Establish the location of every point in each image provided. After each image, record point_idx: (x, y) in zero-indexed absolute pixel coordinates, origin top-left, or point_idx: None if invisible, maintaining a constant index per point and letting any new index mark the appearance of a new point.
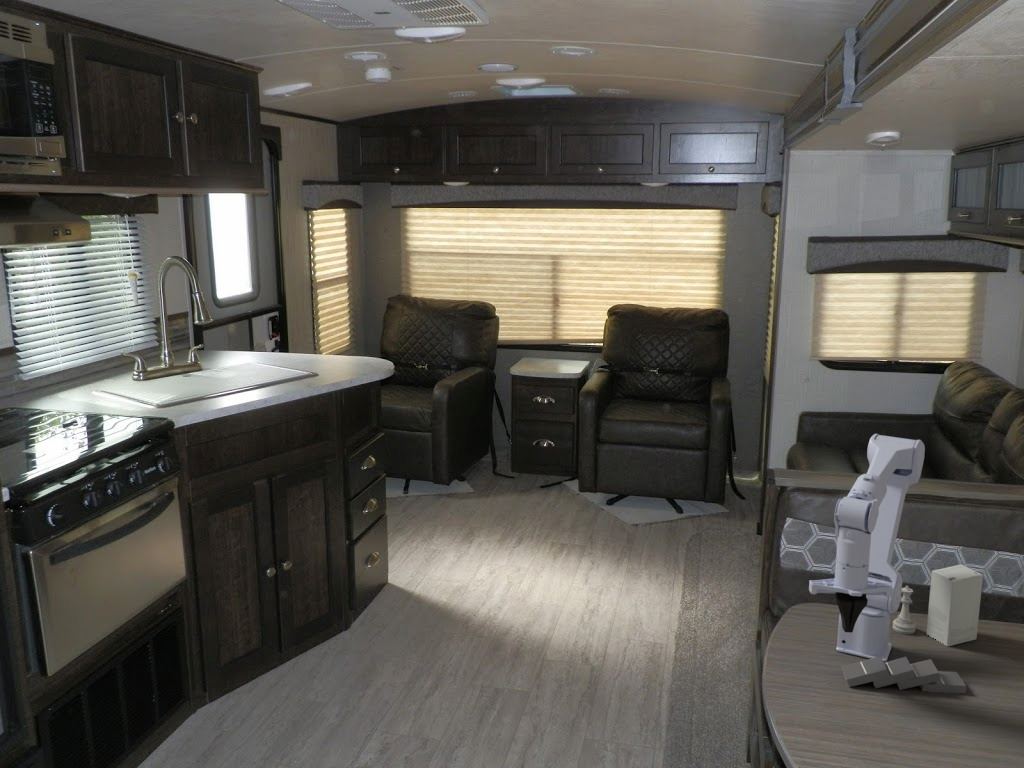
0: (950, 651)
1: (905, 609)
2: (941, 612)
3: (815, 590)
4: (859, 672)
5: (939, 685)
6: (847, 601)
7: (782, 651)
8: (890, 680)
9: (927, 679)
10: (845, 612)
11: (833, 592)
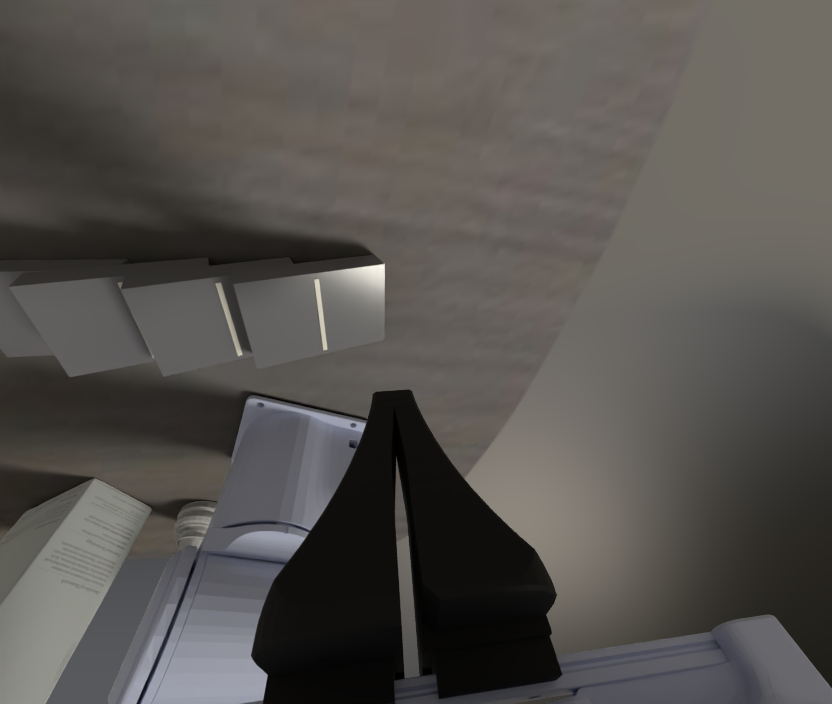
0: (82, 462)
1: None
2: (61, 574)
3: (776, 667)
4: (337, 293)
5: (49, 269)
6: (481, 596)
7: (500, 401)
8: (231, 268)
9: (81, 273)
10: (447, 484)
11: (571, 665)
